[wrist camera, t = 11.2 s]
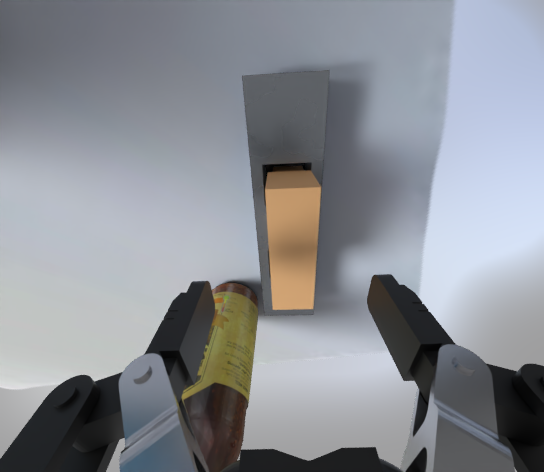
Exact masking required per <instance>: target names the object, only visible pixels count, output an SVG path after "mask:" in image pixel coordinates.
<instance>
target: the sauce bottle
mask: <svg viewBox="0 0 544 472" xmlns="http://www.w3.org/2000/svg"><path fill="white" fill-rule="evenodd" d="M212 294H213V298H214V302H215V315H214V318H213V322H212V325H211V329H210V332H209V336H208V339H207V343H206V346H205V350H204V353H203V357H202V360H201V364H200V367H199V371H198V374H197V378H196V381H195V385H185V388H184V391H183V394H182V398H183V401H184V404H185V407H186V410H187V413H188V416H189V418H190V421H191V424H192V427H193V430H194V433H195V436H196V439H197V442H198V444H199V447H200V449H201V452H202V454H203V456H204V459H205V461H206V464H207V467H208V470H209V472H220V471H222V470H223V469H224V468H225V467H227V466H228V465H230V464H232V463H234V462H236V461H237V459H238V457H239V454H240V451H241V446H242V442H243V435H244V426H245V416H246V409H247V407H248V403H249V394H250V385H251V375H252V367H253V358H254V349H255V339H256V330H257V321H258V301H257V298H256V295H255V293H254V292H253V291H252V290H251V289H249V288H248V287H246V286H243V285H241V284H237V283H225V284H221V285H219V286H217V287H216V288H214V289H213V290H212Z"/></svg>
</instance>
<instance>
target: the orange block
mask: <svg viewBox="0 0 544 472" xmlns="http://www.w3.org/2000/svg"><path fill="white" fill-rule="evenodd" d="M265 197H266V213H267V228H268V244H269V259H270V275H271V290H272V306H273V310H291V309H313V305H314V289H315V274H316V259H317V244H318V228H319V213H320V198H321V186H320V184H319V183H318V181H317V179H316V178H315V176H314V175H313V173H312V171H311V170H307V171H304V169H303V167H302V166H281V167H273V172H268V174H267V180H266V186H265Z"/></svg>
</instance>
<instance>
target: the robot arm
mask: <svg viewBox="0 0 544 472" xmlns="http://www.w3.org/2000/svg"><path fill="white" fill-rule="evenodd" d="M367 304H368V308H369V311H370V313H371V315H372V317H373V319H374V321H375V323H376V325H377V327H378V329H379V331H380V333H381V336H382V338H383V340H384V342H385V344H386V346H387V348H388V350H389V352H390V354H391V356H392V358H393V360H394V362H395V364H396V366H397V368H398V370H399V372H400V374H401V376H402V378H403V380H404V381H415V382H416V384H417V386H418V389H417V392H416V398H415V404H414V410H413V416H412V422H411V428H410V434H409V439H408V444H407V446H406V449H405V452H404V456H403V459H402V463H401V468H400V469H399V468H397V467H395V466H394V465H392V464H390V463H388V462H386V461H384V460H382V459H379V457H378V454H377V451H376V448H375V447H368V448H341V449H338V450H336V451H334V452H331V453H329V454H326V455H324V456H321V457H319V458H316V459H314V460H311V461H307V460H303V459H300V458H298V457H294V456H292V455H289V454H286V453H283V452H280V451H277V450H274V449H260V450H259V449H257V450H256V449H255V450H241V453H240V460H238V461H236V462H234V463H232V464H230V465H228V466H227V467H225V468H224V469H223V470H222V471H220V472H515V469H516V470H517V472H544V366H541V365H537V364H525V365H523V366H522V367H521V368H520V369H519V370H518V372H517V371H513V370H509V369H505V368H501V367H497V366H493V365H489V364H486V363H485V362H484V361H483V360H482V359H481V358H480V357H479V356H477V355H476V354H474V353H473V352H471V351H470V350H468V349H466V348H463V347H461V346H458V345H456V344H455V343H454V342H453V340H452V339H451V338H450V337H449V336H448V334H447V333H446V332H445V330H444V329H443V328H442V327H441V325H440V324H439V323H438V322H437V321H436V319H435V318H434V316H433V315H432V314H431V313H430V312H429V311H428V309H427V308H426V306H425V305H424V304H422V302H421V300H420V299H419V297H418V296H417V295H416V294H415V293H414V292H413V291H412V290H410V289H409V288H407V287H406V286H405V285H399V284H398V282H397V281H396V280H395V278H394V277H393V276H392V275H390V274H387V275H374V276H373V277H372V280H371V285H370V289H369V293H368V298H367ZM214 315H215V302H214V298H213V294H212V290H211V286H210V283H209V281H195V282H192V283H191V285H190V287H189V289H188V291H187V293H181V294H180V295H178V296H177V297H176V298H175V299H174V300H173V302H172V304H171V305H170V307H169V309H168V312H167V313H166V315H165V317H164V320H163V321H162V322H161V324H160V326H159V328H158V330H157V332H156V334H155V336H154V338H153V339H152V341H151V343H150V345H149V347H148V349H147V351H146V352H145V354H144V355H142V356H140V357H138V358H137V359H135V360H134V361H132V362H131V363H130V364H129V365H128V366H127V367H126V368H125V370H124V371H123V372H121V373H119V374H116V375H113V376H110V377H107V378H104V379H101V380H98V381H95V382H94V381H93V380H92V378H91V377H90V376H87V375H79V376H75V377H73V378H70V379H68V380H66V381H65V382H63V383H62V384H60V385H59V386H58V387H56V388H55V389H54V390H53V391H52V392H51V393H50V394H49V395H48V396H47V397H46V398H45V400H44V401H43V403H42V404H41V405H40V406H39V408H38V409H37V411H36V412H35V413H34V415H33V416H32V418H31V419H30V420H29V421H28V423H27V424H26V425H25V427H24V428H23V429H22V431H21V432H20V433H19V435H18V436H17V438H16V439H15V440H14V441H13V443H12V444H11V445H10V447H9V448H8V450H7V451H6V452H5V454H4V455H3V456H2V458H1V459H0V472H106V470H107V468H108V465H109V463H110V460H111V458H112V456H113V453H114V451H115V449H116V446H117V444H118V442H119V440H120V439H122V438H125V449H124V450H123V451H122V452H121V455H120V472H209V470H208V467H207V464H206V461H205V459H204V456H203V454H202V452H201V449H200V447H199V444H198V442H197V439H196V436H195V433H194V430H193V427H192V424H191V421H190V418H189V416H188V413H187V410H186V407H185V404H184V401H183V398H182V394H183V391H184V388H185V385H195V381H196V378H197V374H198V371H199V367H200V364H201V360H202V357H203V353H204V350H205V346H206V343H207V339H208V336H209V332H210V329H211V325H212V322H213V318H214ZM514 467H515V469H514Z"/></svg>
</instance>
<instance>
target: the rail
mask: <svg viewBox="0 0 544 472" xmlns="http://www.w3.org/2000/svg"><path fill="white" fill-rule="evenodd" d="M242 81H243V91H244V102H245V113H246V123H247V134H248V145H249V155H250V166H251V177H252V187H253V198H254V209H255V219H256V230H257V241H258V251H259V262H260V273H261V283H262V294H263V305H264V315H313V313H314V305H313V309H291V310H273V306H272V290H271V275H270V259H269V244H268V228H267V213H266V197H265V186H266V172H265V164H286V163H305V171H307V170H311V171H312V173H313V175H314V176H315V178H316V179H317V181H318V183H319V184H320V186H321V192H322V177H323V161H324V146H325V131H326V116H327V101H328V86H329V70H325V71H309V72H293V73H277V74H261V75H245V76H242ZM320 207H321V198H320ZM319 222H320V213H319ZM318 237H319V228H318ZM317 252H318V244H317ZM316 267H317V259H316ZM315 283H316V274H315ZM314 298H315V289H314Z"/></svg>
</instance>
